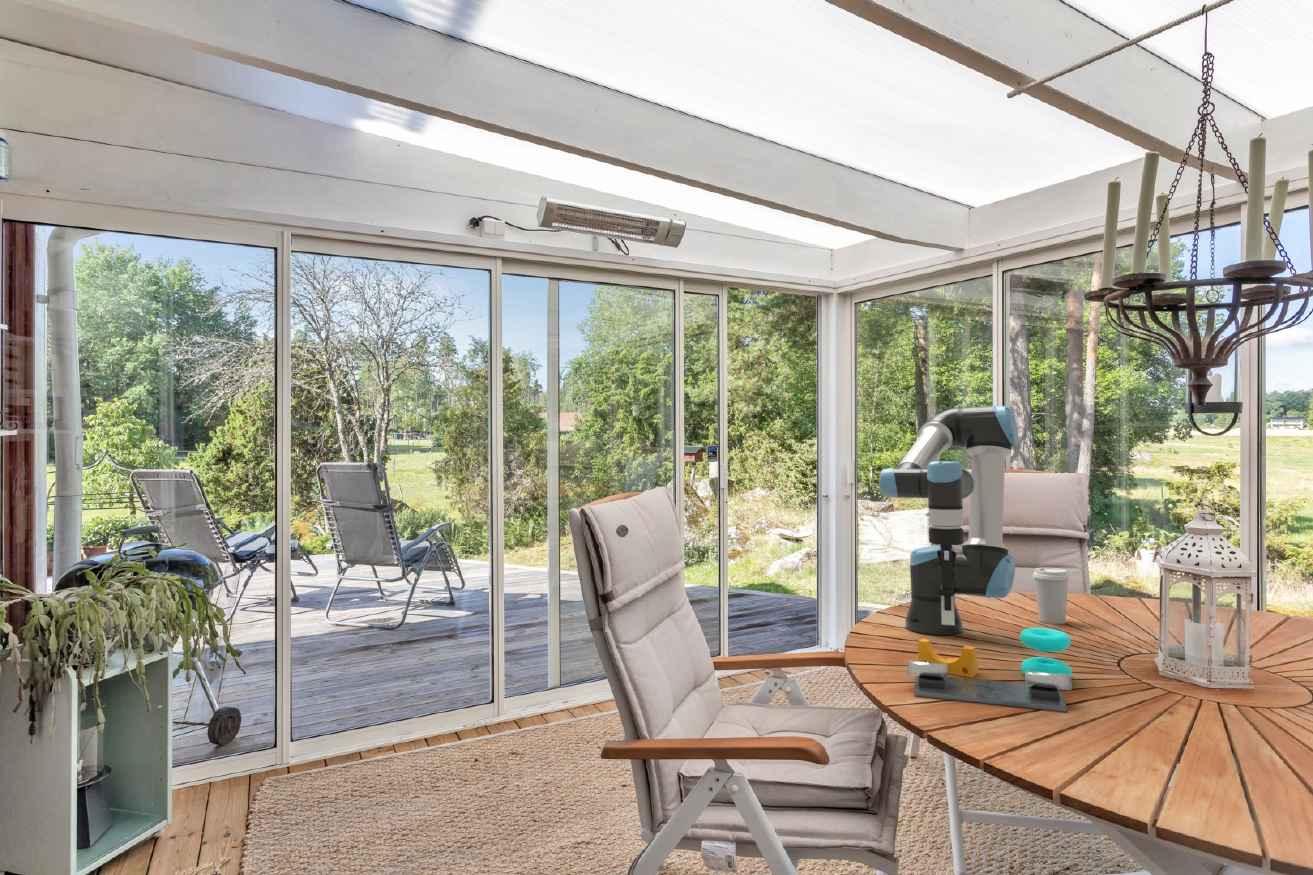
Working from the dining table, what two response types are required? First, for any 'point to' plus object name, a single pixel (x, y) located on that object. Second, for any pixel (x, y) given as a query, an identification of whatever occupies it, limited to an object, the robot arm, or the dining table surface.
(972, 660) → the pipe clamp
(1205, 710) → the dining table surface
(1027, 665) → the donuts
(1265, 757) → the dining table surface
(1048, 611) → the coffee cup
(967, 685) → the shaft stand
